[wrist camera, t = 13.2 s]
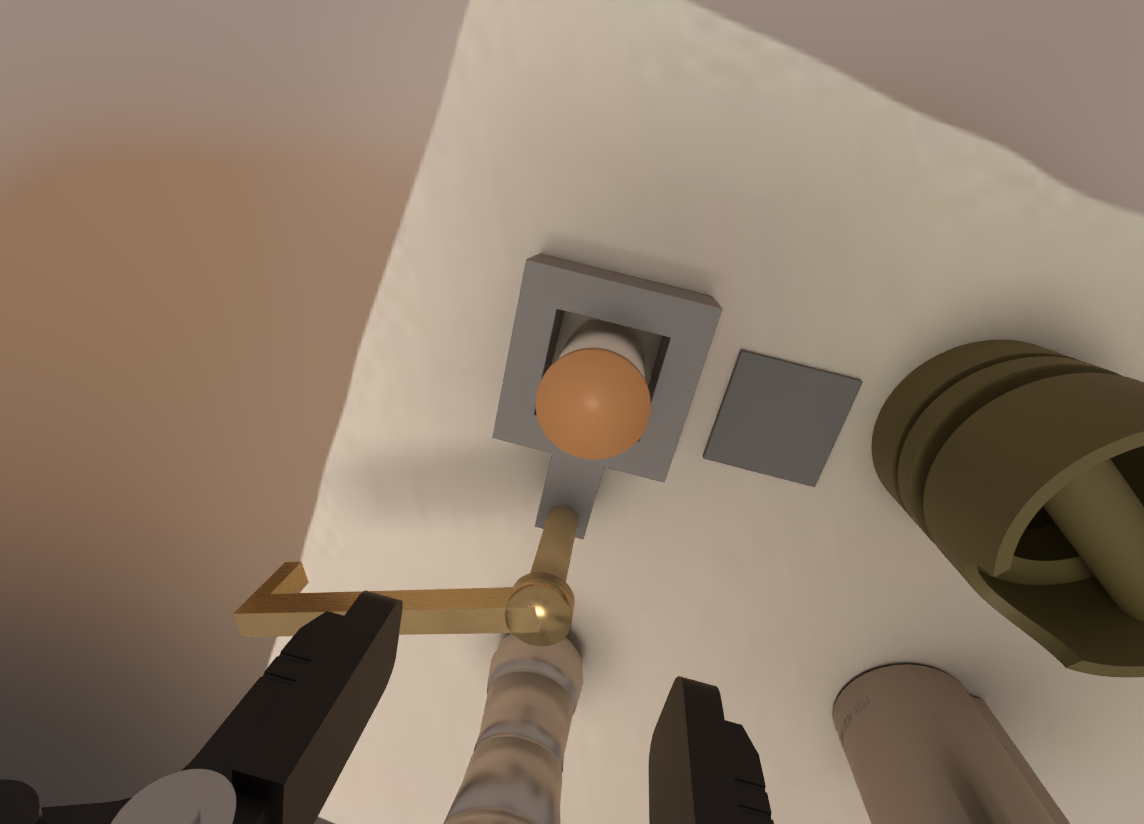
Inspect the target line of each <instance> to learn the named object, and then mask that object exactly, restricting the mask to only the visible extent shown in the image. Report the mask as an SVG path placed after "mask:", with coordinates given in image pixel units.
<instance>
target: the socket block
mask: <svg viewBox="0 0 1144 824" xmlns="http://www.w3.org/2000/svg"><path fill="white" fill-rule="evenodd" d="M563 311H568V312H572V313H576V314H580V315H583V316H587V317H591V318H595V319H599V320H603V321H607V322H611V323H615V324H619V325H623V326H627V327H631V328H635V329H639V330H643V331H647V332H651V333H655V334H659V335H663V339H662V342H661V345H660V349H659V352H658V355H657V359H656V362H655V365H654V369H653V372H652V376H651V379H650V382H649V386H648V388H649V393H650V403H651V411H650V418H649V422H648V425H647V427H646V429H645V431H644V433H643V435H642V436H641V437H640V439H639V440H638V441H637V442H636V443H635V444H634V445H633V446H632V447H631V448H629V449H628V450H627V451H625V452H623V453H621V454H619V455H617V456H614V457H611V458H607V459H600V460H590V459H583V458H578V457H575V456H572V455H570V454H568V453H566V452H564V451H562V450H561V449H559V448H558V447H557V446H556V445H554V444H553V443H552V442H551V441H550V440H549V439H548V437H547V436H546V435H545V433H544V432H543V430H542V428H541V426H540V424H539V421H538V418H537V414H536V407H535V401H536V393H537V390H538V386H539V384H540V382H541V380H542V378H543V376H544V374H545V373H546V371H547V370H548V369H549V367H550V366H551V364H552V360H553V355H554V351H555V346H556V342H557V337H558V333H559V328H560V324H561V320H562V315H563ZM721 312H722V308H721V306H720V305H719V304H718V303H717V302H716V300H715V299H714V298H713V297H712V296H708V295H704V294H700V293H696V292H692V291H688V290H684V289H680V288H676V287H672V286H668V285H664V284H660V283H656V282H652V281H648V280H644V279H640V278H636V277H632V276H628V275H624V274H620V273H616V272H612V271H608V270H604V269H600V268H596V267H592V266H588V265H584V264H580V263H576V262H572V261H568V260H564V259H560V258H556V257H552V256H548V255H544V254H538V255H536V256H533V257H531V258H529V259H527V260H526V263H525V269H524V274H523V279H522V284H521V290H520V295H519V300H518V306H517V311H516V316H515V321H514V327H513V332H512V337H511V342H510V348H509V353H508V358H507V364H506V369H505V374H504V379H503V385H502V390H501V395H500V401H499V406H498V411H497V416H496V422H495V427H494V432H493V437H492V438H495V439H499V440H503V441H507V442H511V443H514V444H518V445H522V446H526V447H530V448H534V449H537V450H541V451H545V452H549V453H552V457H551V461H550V465H549V469H548V473H547V478H546V482H545V486H544V490H543V494H542V499H541V503H540V507H539V511H538V515H537V519H536V524H535V527H539V528H542V529H544V530H543V533H542V537H541V540H540V543H539V547H538V550H537V553H536V557H535V560H534V563H533V566H532V570H531V573H534V572H544V573H549V574H553V575H555V576H557V577H559V578H561V579H562V580H563V581H565V582H566V578H567V573H568V568H569V563H570V558H571V553H572V548H573V543H574V538H575V537H576V538H580V539H584V536H585V532H586V528H587V525H588V521H589V518H590V514H591V511H592V507H593V504H594V500H595V497H596V493H597V489H598V486H599V482H600V479H601V475H602V472H603V468H604V467H607V468H610V469H614V470H618V471H622V472H626V473H630V474H633V475H637V476H641V477H645V478H649V479H653V480H656V481H660V482H665V479H666V476H667V473H668V470H669V467H670V464H671V461H672V458H673V455H674V452H675V449H676V446H677V443H678V440H679V437H680V434H681V432H682V429H683V426H684V423H685V420H686V417H687V414H688V411H689V408H690V405H691V402H692V399H693V396H694V393H695V390H696V387H697V384H698V381H699V378H700V375H701V372H702V369H703V366H704V363H705V360H706V357H707V354H708V351H709V348H710V345H711V342H712V339H713V336H714V333H715V330H716V327H717V324H718V321H719V318H720V315H721Z"/></svg>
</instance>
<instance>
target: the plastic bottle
mask: <svg viewBox="0 0 1144 824" xmlns="http://www.w3.org/2000/svg"><path fill="white" fill-rule="evenodd" d="M582 685H583V674H582V663H581V658H580V655H579V653H578V651H577V650H576V648H575V647H574V645H573V644H572V643H571V642H570V641H569V639H568V638H567V637H565V638H564V639H563V640H562V641H560V642H558V643H556V644H554V645H551V646H533V645H529V644H527V643H524V642H522V641H520V640H519V639H517V638H516V637H515V636H514V635H513V634H512V633H510V634H509V635H508V636H506V637H505V638H504V639H503V640H502V642H501V643H500V645H499V647H498V648H497V650H496V652H495V654H494V656H493V658H492V660H491V664H490V671H489V677H488V684H487V699H486V704H485V709H484V714H483V719H482V724H481V729H480V734H479V737H478V740H477V742H476V745H475V748H474V752H473V755H472V757H471V759H470V762H469V765H468V768H467V771H466V774H465V777H464V779H463V782H462V784H461V786H460V789H459V791H458V793H457V795H456V797H455V800H454V802H453V804H452V806H451V808H450V811H449V813H448V815H447V817H446V819H445V822H444V824H560V800H561V787H562V772H563V761H564V753H565V748H566V743H567V739H568V734H569V730H570V725H571V720H572V716H573V714H574V712H575V710H576V707H577V704H578V700H579V697H580V693H581V689H582Z"/></svg>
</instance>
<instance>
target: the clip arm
mask: <svg viewBox="0 0 1144 824" xmlns="http://www.w3.org/2000/svg"><path fill="white" fill-rule="evenodd" d="M308 583H309V582H308V579H307V576H306V574H305V571H304V568H303V565H302V562H285V563H284V564H283V565H282V566H281V567H280V568H279V569H278V570H277V571H276V572H275V573H274V574H273V575H272V576H271V577H270V578H269V579H268V580H267V581H266V582H265V583H264V584H263V585H262V586H261V587H259V588H258V590H256V591H255V592H254V594H252V596H250V598H248V599H247V600H246V601H245V602H244V603H243V604H242V605H241V606H240V607H239V609H237V610H236V611H235V612H234V613H233V615H234V618H235V620H236V622H237V625H238V627H239V630H240V632H241V634H242V637H261V636H262V637H267V636H294V635H295V634H296V632H297V631H298V630H299V629H300V628H301V627H302V626H304V625H306V624H307V623H309V622H310V621H312V620H313V619H315V618H317V617H318V616H320V615H321V614H323V613H324V612H326V611H329V612H333V613H336V614H340V615H345V614H346V613H347V611H348V610H349V608H350V607H351V606H352V604H353V603H354V602H355V600H356V599H357V597H358V596H359V595H360V594H361V593H362V592H328V593H300V592H301V591H302V590H303V588H304V587H305V586H306V585H307V584H308ZM369 592H373V593H377V594H380V595H384V596H388V597H392V598H395V599H399V600H402V602H403V609H402V616H401V623H400V631H399V635H403V634H470V633H512V634H513V635H514V636H515V637H516V638H517V639H519V640H520V641H522V642H524V643H527V644H529V645H533V646H551V645H554V644H556V643H558V642H560V641H562V640H563V639H564V638H565V637H566V636H567V634H568V633H569V630H570V627H571V621H572V615H573V609H574V602H575V601H574V595H573V592H572V590H571V588H570V587H569V586H568V584H567V583H566V582H565V581H563V580H562V579H561V578H559V577H557V576H555V575H553V574H549V573H544V572H534V573H530V574H527V575H525V576H523V577H521V578H520V579H519V580H518V581H517V582H516V583H515V584H514V586H513V587H505V588H470V589H434V590H399V591H369Z"/></svg>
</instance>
